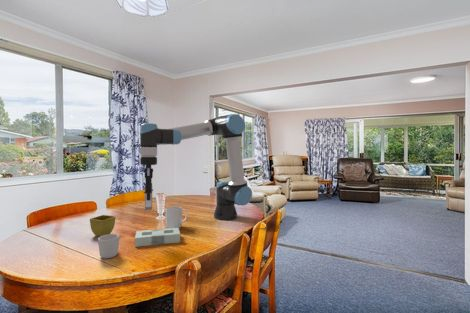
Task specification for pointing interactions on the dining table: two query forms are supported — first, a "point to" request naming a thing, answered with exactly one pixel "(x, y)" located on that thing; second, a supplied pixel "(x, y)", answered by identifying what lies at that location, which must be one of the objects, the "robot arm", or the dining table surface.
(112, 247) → the cup
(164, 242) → the hole block
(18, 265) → the dining table surface
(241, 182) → the robot arm
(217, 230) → the dining table surface
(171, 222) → the mug
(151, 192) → the peg
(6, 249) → the dining table surface
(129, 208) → the dining table surface
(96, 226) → the flower pot
